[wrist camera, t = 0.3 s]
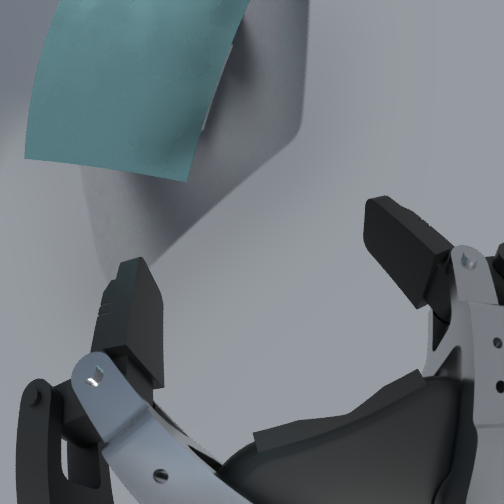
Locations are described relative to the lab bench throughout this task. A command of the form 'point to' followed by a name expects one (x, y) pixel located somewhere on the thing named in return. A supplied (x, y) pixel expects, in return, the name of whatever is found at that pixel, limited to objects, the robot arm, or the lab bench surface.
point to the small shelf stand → (129, 82)
